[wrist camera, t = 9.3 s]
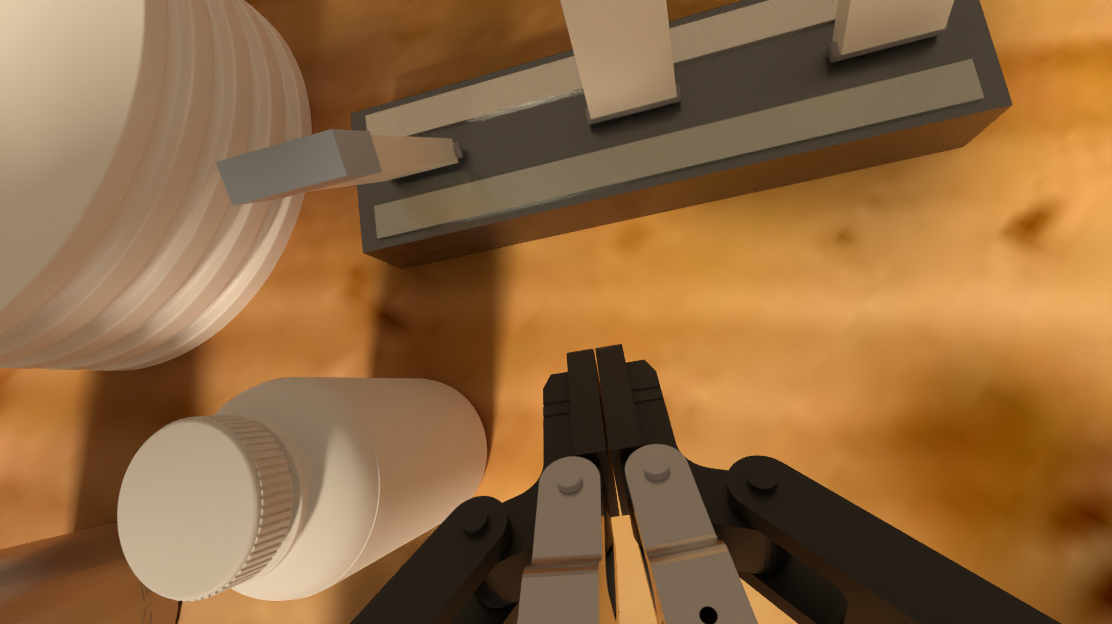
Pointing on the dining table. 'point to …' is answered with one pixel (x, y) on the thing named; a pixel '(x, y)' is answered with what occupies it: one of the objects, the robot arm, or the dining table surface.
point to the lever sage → (885, 25)
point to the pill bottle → (296, 485)
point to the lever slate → (331, 163)
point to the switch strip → (675, 129)
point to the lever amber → (622, 55)
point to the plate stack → (135, 175)
